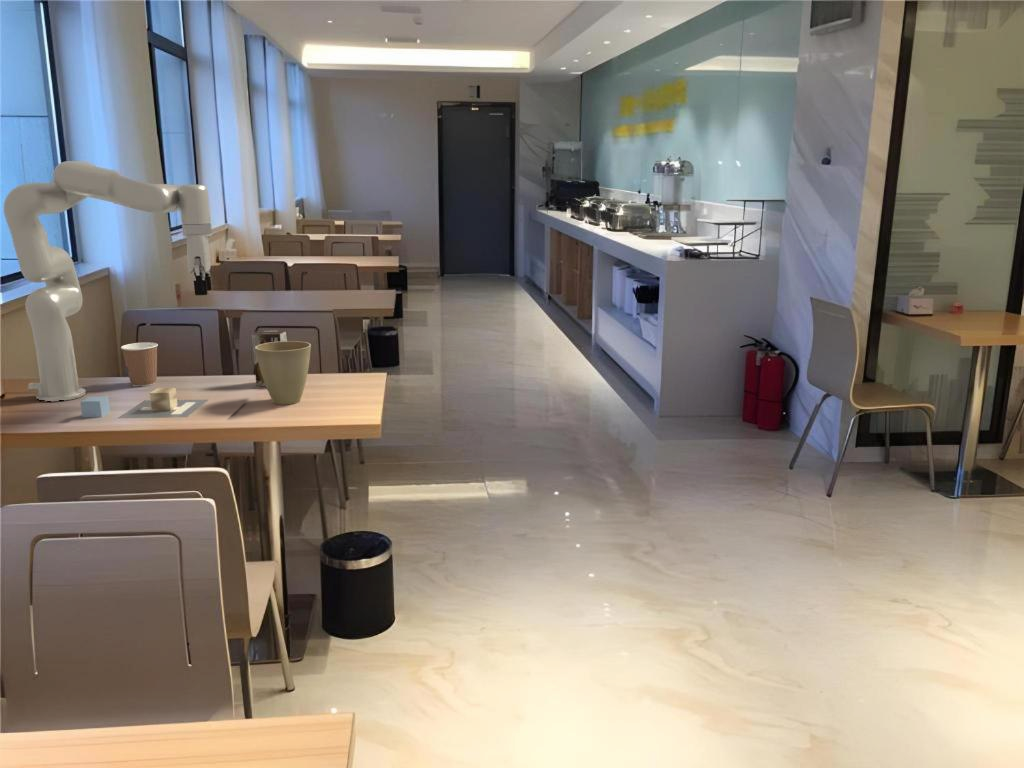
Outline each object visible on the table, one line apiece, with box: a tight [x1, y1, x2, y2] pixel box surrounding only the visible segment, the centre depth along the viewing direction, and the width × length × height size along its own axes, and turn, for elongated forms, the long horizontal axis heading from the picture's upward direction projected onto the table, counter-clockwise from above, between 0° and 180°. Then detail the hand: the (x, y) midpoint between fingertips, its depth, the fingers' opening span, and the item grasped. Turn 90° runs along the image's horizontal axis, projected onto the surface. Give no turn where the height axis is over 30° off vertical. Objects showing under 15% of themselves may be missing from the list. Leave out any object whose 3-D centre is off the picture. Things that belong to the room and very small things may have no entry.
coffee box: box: [251, 329, 289, 387], centre depth 252 cm, size 9×6×16 cm
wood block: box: [149, 387, 178, 411], centre depth 224 cm, size 5×5×5 cm
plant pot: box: [255, 340, 312, 406], centre depth 232 cm, size 15×15×16 cm
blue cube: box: [80, 395, 111, 418], centre depth 219 cm, size 5×5×5 cm
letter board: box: [117, 399, 210, 419], centre depth 225 cm, size 18×18×1 cm
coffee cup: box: [120, 342, 159, 387], centre depth 253 cm, size 10×10×12 cm
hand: (203, 292), depth 233 cm, fingers open, 9 cm apart
